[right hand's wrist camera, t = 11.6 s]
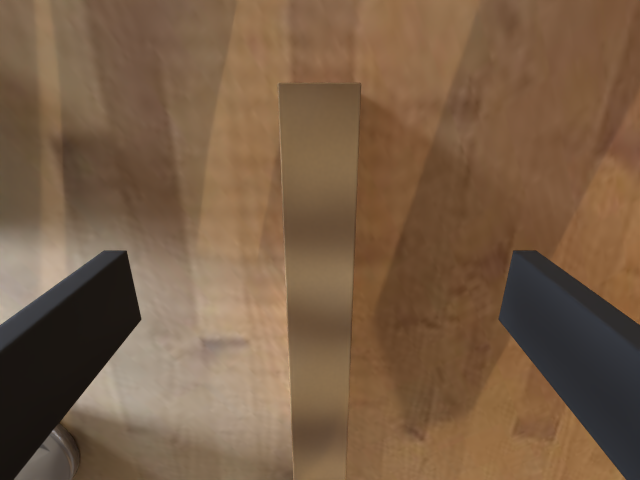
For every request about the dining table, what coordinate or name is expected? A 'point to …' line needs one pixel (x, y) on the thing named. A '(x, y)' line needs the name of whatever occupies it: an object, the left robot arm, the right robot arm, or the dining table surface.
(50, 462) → the left robot arm
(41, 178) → the dining table surface
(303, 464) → the plank
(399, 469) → the dining table surface
